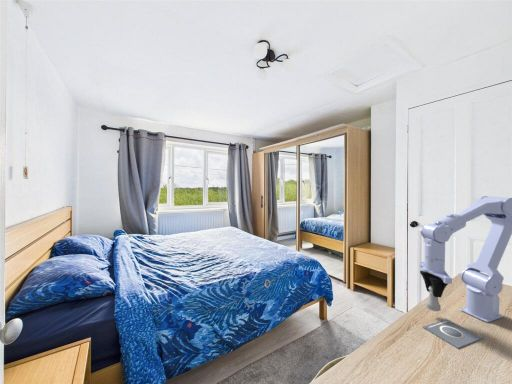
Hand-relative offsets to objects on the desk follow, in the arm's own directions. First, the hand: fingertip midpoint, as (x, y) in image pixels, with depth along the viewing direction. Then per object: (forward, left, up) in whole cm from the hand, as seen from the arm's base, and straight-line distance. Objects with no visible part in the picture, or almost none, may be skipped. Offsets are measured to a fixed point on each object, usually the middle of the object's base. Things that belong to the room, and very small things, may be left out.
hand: (433, 293), depth 80 cm
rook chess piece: (0, 0, -6) cm, 6 cm away
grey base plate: (+4, +8, -8) cm, 12 cm away
